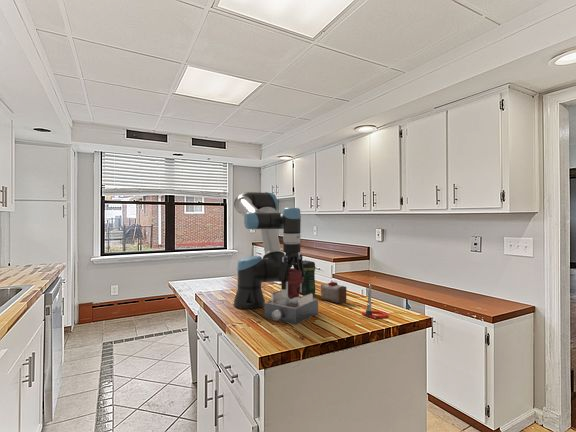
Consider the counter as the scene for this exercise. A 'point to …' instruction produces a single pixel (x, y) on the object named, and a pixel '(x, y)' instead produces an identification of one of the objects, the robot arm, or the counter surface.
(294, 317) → the motor housing
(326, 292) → the food item
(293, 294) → the mechanical component
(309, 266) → the coffee jar
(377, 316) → the tow hook
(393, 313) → the counter surface
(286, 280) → the robot arm
